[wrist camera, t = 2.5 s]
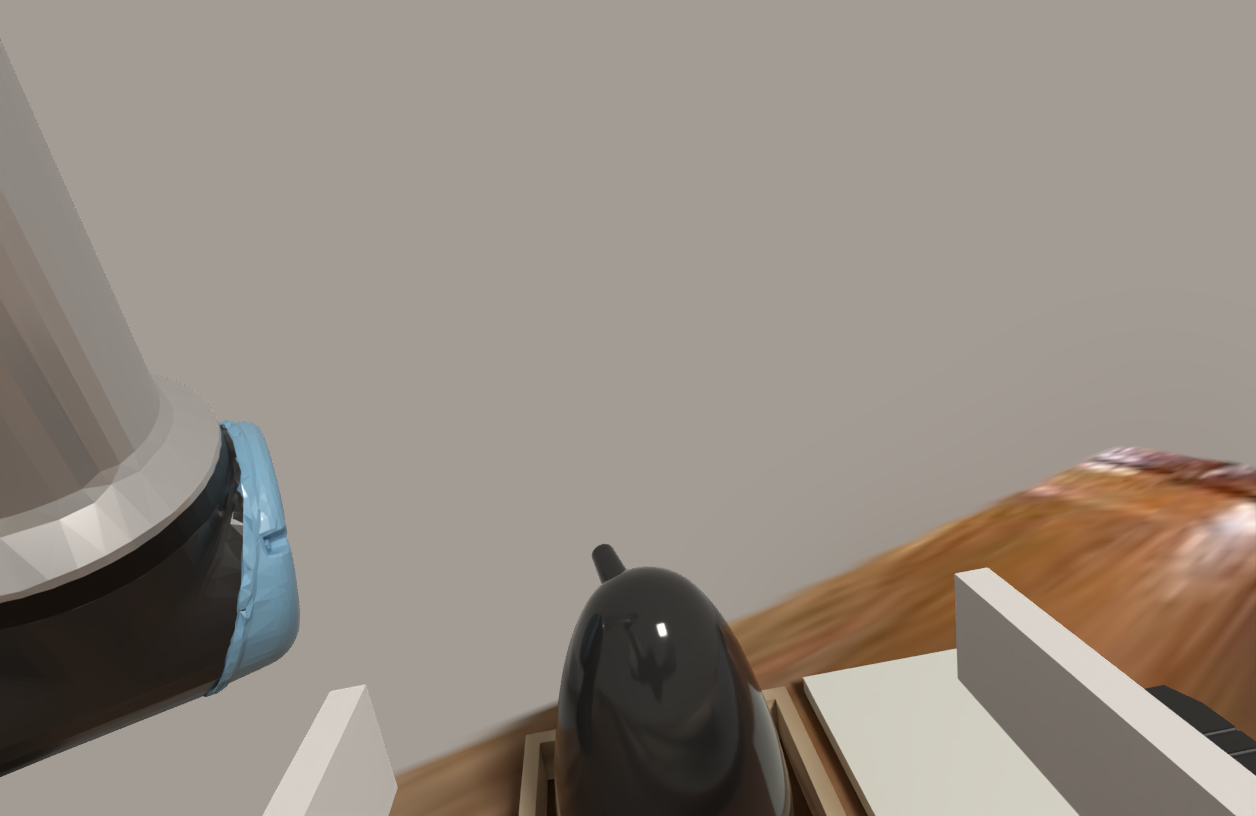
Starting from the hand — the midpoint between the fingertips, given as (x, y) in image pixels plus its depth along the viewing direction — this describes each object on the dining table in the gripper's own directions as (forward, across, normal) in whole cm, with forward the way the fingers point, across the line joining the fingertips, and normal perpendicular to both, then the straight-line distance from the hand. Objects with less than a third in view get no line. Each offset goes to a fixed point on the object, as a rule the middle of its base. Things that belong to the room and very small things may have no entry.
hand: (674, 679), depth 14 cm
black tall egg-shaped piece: (+11, 0, -19) cm, 22 cm away
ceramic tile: (+14, +15, -18) cm, 28 cm away
